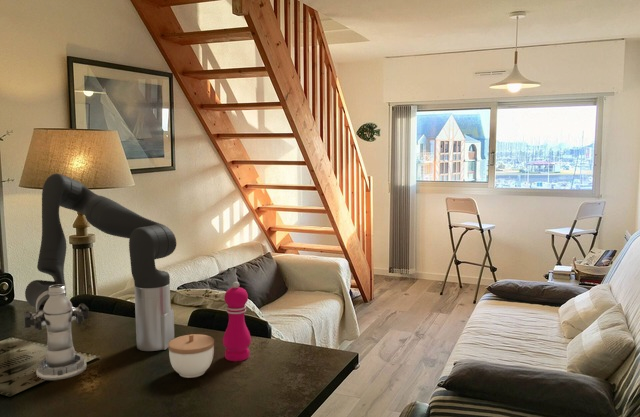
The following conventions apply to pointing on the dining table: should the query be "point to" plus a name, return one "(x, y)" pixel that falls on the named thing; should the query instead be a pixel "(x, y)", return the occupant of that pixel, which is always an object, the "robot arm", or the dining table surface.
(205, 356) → the lidded jar
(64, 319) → the plastic bottle
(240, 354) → the pepper mill
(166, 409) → the dining table surface
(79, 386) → the dining table surface
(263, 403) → the dining table surface
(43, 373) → the tray
